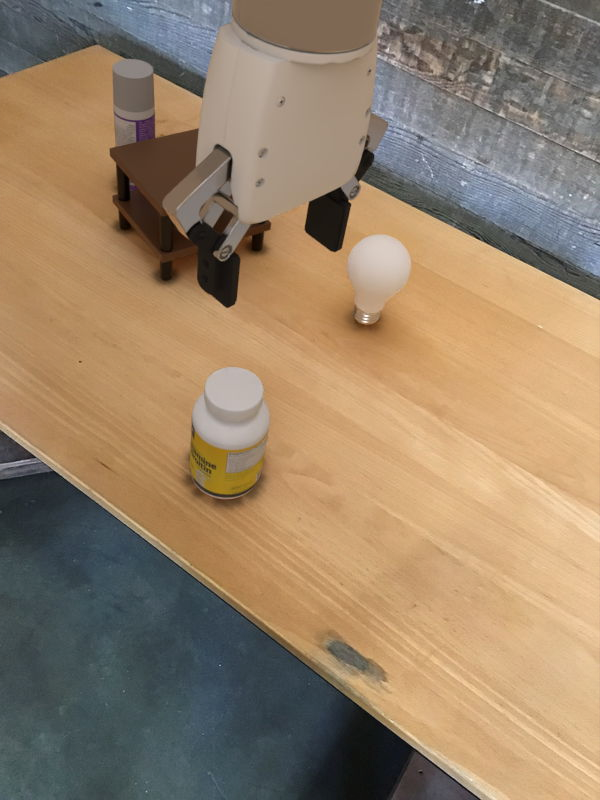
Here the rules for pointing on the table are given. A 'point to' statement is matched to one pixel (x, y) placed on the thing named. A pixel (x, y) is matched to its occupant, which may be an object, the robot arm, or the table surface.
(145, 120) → the container
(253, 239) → the stand
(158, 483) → the table surface
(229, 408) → the pill bottle
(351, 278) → the light bulb
